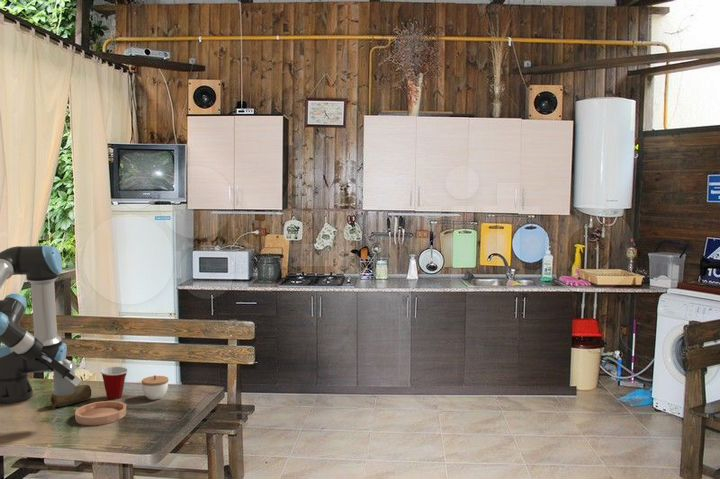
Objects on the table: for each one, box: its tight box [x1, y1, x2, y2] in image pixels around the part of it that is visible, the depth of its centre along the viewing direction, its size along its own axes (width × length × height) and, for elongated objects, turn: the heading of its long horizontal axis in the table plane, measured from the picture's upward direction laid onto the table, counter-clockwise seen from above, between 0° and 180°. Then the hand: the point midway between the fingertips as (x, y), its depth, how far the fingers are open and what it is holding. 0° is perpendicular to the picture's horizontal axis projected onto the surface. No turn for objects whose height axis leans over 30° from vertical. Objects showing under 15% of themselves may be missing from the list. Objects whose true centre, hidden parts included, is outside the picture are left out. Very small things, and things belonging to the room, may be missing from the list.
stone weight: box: [50, 384, 92, 408], centre depth 244 cm, size 15×7×7 cm, turn 144°
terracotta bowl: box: [74, 400, 127, 426], centre depth 230 cm, size 18×18×3 cm
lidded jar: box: [141, 374, 169, 401], centre depth 252 cm, size 11×11×9 cm
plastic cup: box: [100, 366, 129, 400], centre depth 252 cm, size 11×11×12 cm
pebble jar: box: [52, 358, 76, 396], centre depth 219 cm, size 7×7×12 cm
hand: (73, 380), depth 221 cm, fingers closed on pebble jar, 7 cm apart
